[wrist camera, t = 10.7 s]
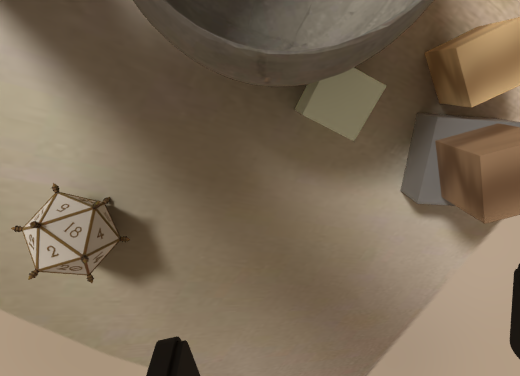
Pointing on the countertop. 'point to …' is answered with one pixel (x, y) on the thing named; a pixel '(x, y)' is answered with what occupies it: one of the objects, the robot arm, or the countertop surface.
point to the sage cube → (341, 101)
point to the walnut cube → (482, 171)
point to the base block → (435, 153)
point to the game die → (70, 235)
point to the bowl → (281, 34)
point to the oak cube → (477, 64)
